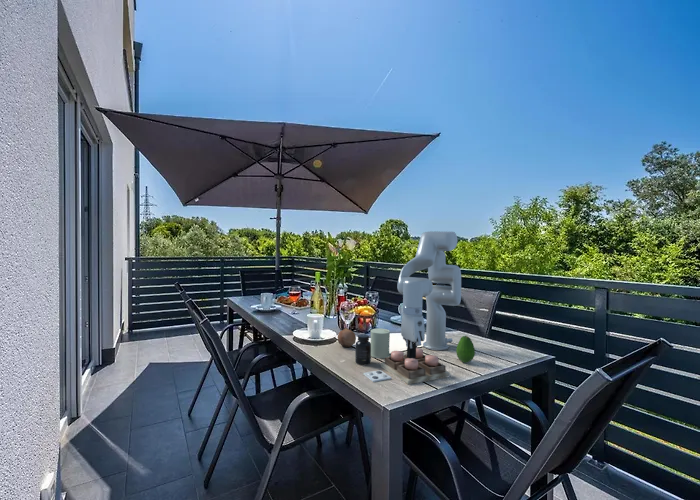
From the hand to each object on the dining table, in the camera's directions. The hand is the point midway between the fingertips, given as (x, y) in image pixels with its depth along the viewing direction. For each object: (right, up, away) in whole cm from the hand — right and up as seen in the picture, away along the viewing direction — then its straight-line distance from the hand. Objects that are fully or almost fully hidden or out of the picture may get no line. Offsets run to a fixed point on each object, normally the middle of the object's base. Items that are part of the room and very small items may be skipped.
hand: (411, 357), depth 133 cm
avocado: (+28, -8, +19) cm, 35 cm away
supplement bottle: (-18, -8, +16) cm, 26 cm away
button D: (0, -4, 0) cm, 4 cm away
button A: (+5, -4, +14) cm, 15 cm away
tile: (-13, -8, +1) cm, 16 cm away
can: (-10, -8, +27) cm, 29 cm away
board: (+2, -8, +7) cm, 11 cm away
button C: (-4, -4, +9) cm, 11 cm away
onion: (-26, -7, +39) cm, 47 cm away
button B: (+9, -4, +5) cm, 11 cm away
